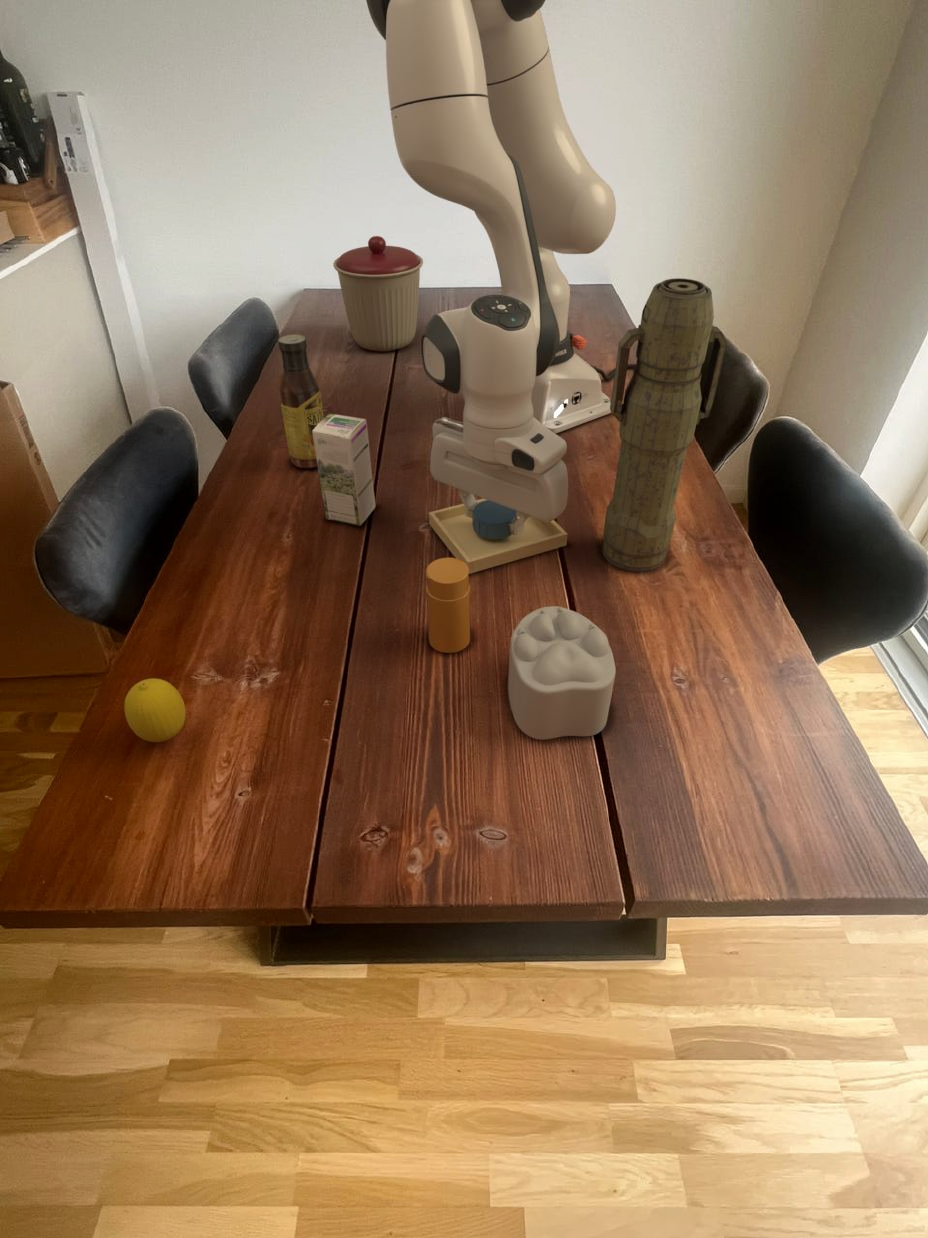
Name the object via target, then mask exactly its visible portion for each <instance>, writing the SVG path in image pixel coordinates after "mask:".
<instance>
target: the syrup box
mask: <svg viewBox="0 0 928 1238" xmlns="http://www.w3.org/2000/svg"><path fill="white" fill-rule="evenodd" d="M312 431H313V432H312V433H313V440H314V446H315V452H316V458H317V464H318V467H317V471H318V477H319V482H320V488H321V494H322V495H321V496H322V500H323V506H324V507H323V508H324V512H325V513H324V515H325V518H326V520H327V521H329V520H330V521H333V522H338V523H343V524H348V525H352V526H358V527H360V526H362V525H363V524H364V523H365V521H366V520H367V519H368V518H369V516H370V515H371V514H372V512H373V511H374V510H375V509H376V507H377V506H376V497H375V490H374V482H373V471H372V462H371V452H370V440H369V430H368V422H367V419H366V418H360V417H355V416H348V415H341V414H335V413H329V414H327V415H326V416H325V417H324V419H323V420H322V421H321V422H320V423H319V424H318V425H317V426H316V427H315V428H314V429H313V430H312Z"/></svg>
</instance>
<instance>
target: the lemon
mask: <svg viewBox="0 0 928 1238" xmlns="http://www.w3.org/2000/svg"><path fill="white" fill-rule="evenodd" d="M123 709H124V715H125V719H126V721H127V724H128V726H129V728H130V730H131V731H132V732H133V733H134V734H135V736H137V737H139V738H141V739H142V740H143V741H147V742H150V743H161V742H166V741H168V740H170V739H172V738H174V737H175V736H176V735H178V733H179V732H180V731H181V730H182V728H183V726H184V725H185V722H186V721H185V720H186V716H187V713H186V712H187V711H186V706H185V702H184V699H183V697H182V695H181V694H180V693H179V691H178V689H177V688H176V687H175V686H174V685H172V683H170V682H168V681H167V680H164V679H161V678H147V679H142V680H140V681H139V682H137V683H135V684H134V685H133V686H132V687H131V688H130V689H129V691H128V692H127V694H126V696H125V698H124V707H123Z"/></svg>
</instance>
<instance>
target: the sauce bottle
mask: <svg viewBox="0 0 928 1238" xmlns="http://www.w3.org/2000/svg"><path fill="white" fill-rule="evenodd" d="M277 343H278V349H279V350H280V354H281V359H282V368H283V372H282V374H281V375H280V380H279V383H278V390H279V396H280V406H281V412H282V418H283V424H284V425H283V426H284V432H285V437H286V443H287V449H288V453H289V454H288V455H289V456H290V461H291V463H292V465H293V466H294V467H296V468H299V469H307V470H309V469H310V470H311V469H314V468H315V469H316V468H318V464H317V458H316V452H315V446H314V440H313V433H312V432H313V431H312V430H313V429H314V428H315V427H316V426H317V425H318V424H319V423H320V422H321V421H322V420H323V419H324V418H325V417H324V409H323V402H322V401H323V400H322V394H321V389H320V388H321V387H320V386H319V384H318V382H317V380H316V378H315V375H314V374H313V372H312V370H311V368H310V363H309V361H308V352H307V348H308V345H307V339H306V337H305V336H304V335H301V334H287V335H283V336H281V337H279V338H278V339H277Z"/></svg>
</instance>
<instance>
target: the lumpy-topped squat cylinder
mask: <svg viewBox="0 0 928 1238" xmlns="http://www.w3.org/2000/svg"><path fill="white" fill-rule="evenodd" d="M508 658H509V659H508V660H509V662H508V679H507V692H508V693H507V694H508V700H509V706H510V709H511V712H512V715H513V719H514V721H515V723H516V726H517V727H518V728H519V730H520V731H522V732H523V733H524V734H525V735H527V737H530V738H532V739H535V740H542V741H543V740H552V739H556V738H562V737H572V736H573V737H591V736H595V735H597V734H600V733H601V732H602V731H603V730H604V728H605V727H606V725H607V721H608V717H609V712H610V706H611V700H612V695H613V690H614V686H615V685H614V684H615V678H616V674H617V673H616V671H617V669H616V663H615V659H614V654H613V651H612V648H611V646H610V644H609V639H608V636H607V635H606V634H605V632H604V631H603V630H602V629H600V628H599V627H598V626H597V625H596V624H595V623H594V622H593V621H591V620H590V619H588V617H585V616H584V615H582V614H581V613H579V612H576V611H574V610H572V609H569V608H566V607H563V606H558V605H557V606H556V605H552V606H551V605H550V606H549V605H548V606H543V607H540V608H536V609H535V610H533V611H531V612H530V613H528V614H526V615H525V616H524V617H523V618H522V619H521V620H520V621H519V622H518V624H517V625H516V627H515V629H514V630H513V632H512V634H511V637H510V641H509V657H508Z"/></svg>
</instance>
